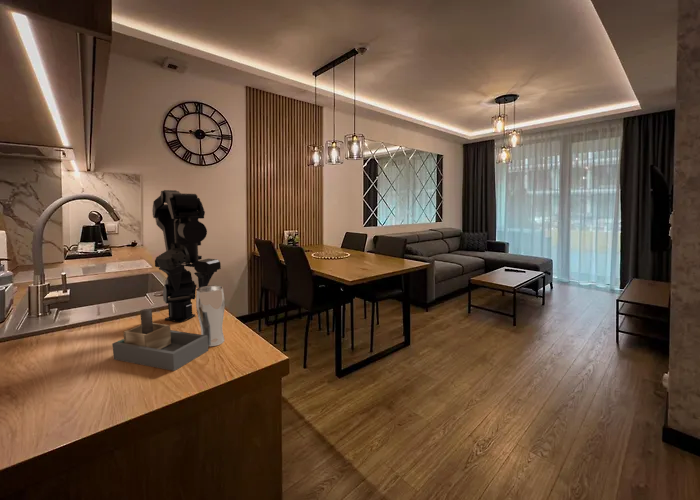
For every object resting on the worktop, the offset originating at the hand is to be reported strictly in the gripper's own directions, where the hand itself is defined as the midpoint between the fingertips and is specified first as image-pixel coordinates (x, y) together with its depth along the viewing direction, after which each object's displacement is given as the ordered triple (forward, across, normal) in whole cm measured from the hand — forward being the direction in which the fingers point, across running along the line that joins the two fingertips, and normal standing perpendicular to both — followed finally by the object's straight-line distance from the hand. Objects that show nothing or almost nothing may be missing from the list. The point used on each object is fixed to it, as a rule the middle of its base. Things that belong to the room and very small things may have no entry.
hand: (189, 292), depth 96 cm
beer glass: (+12, +11, -4) cm, 17 cm away
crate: (+10, +1, -14) cm, 18 cm away
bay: (+12, +5, -14) cm, 19 cm away
